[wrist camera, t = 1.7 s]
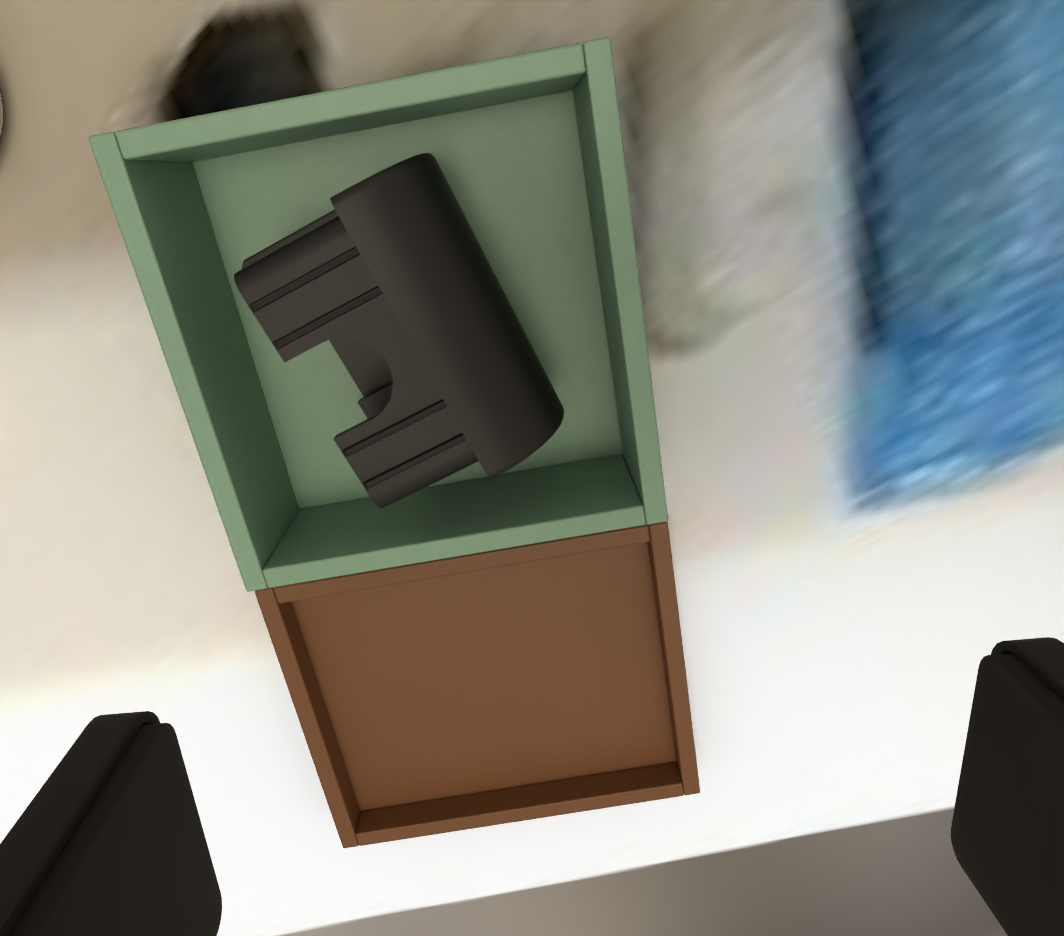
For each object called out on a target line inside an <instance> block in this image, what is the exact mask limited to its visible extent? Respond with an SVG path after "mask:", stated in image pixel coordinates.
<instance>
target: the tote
mask: <svg viewBox="0 0 1064 936" xmlns="http://www.w3.org/2000/svg"><path fill="white" fill-rule="evenodd" d="M89 142H90V144H91V147H92V150H93V153H94V156H95V159H96V162H97V164H98V167H99V170H100V173H101V176H102V179H103V182H104V184H105V187H106V190H107V193H108V196H109V199H110V202H111V204H112V207H113V210H114V213H115V216H116V219H117V222H118V224H119V227H120V230H121V233H122V236H123V239H124V242H125V244H126V247H127V250H128V253H129V256H130V259H131V262H132V265H133V267H134V270H135V273H136V276H137V279H138V282H139V285H140V287H141V290H142V293H143V296H144V299H145V302H146V305H147V307H148V310H149V313H150V316H151V319H152V322H153V325H154V327H155V330H156V333H157V336H158V339H159V342H160V345H161V347H162V350H163V353H164V356H165V359H166V362H167V365H168V367H169V370H170V373H171V376H172V379H173V382H174V385H175V387H176V390H177V393H178V396H179V399H180V402H181V405H182V407H183V410H184V413H185V416H186V419H187V422H188V425H189V428H190V430H191V433H192V436H193V439H194V442H195V445H196V448H197V450H198V453H199V456H200V459H201V462H202V465H203V468H204V470H205V473H206V476H207V479H208V482H209V485H210V488H211V490H212V493H213V496H214V499H215V502H216V505H217V508H218V510H219V513H220V516H221V519H222V522H223V525H224V528H225V530H226V533H227V536H228V539H229V542H230V545H231V548H232V550H233V553H234V556H235V559H236V562H237V565H238V568H239V570H240V573H241V576H242V579H243V582H244V585H245V588H246V591H248V592H249V591H255V590H261V589H266V588H268V587H269V588H272V587H278V586H284V585H290V584H296V583H301V582H307V581H313V580H319V579H325V578H331V577H337V576H343V575H349V574H355V573H361V572H367V571H373V570H379V569H385V568H391V567H397V566H403V565H409V564H415V563H421V562H427V561H433V560H438V559H444V558H450V557H456V556H462V555H468V554H474V553H480V552H486V551H492V550H498V549H504V548H510V547H516V546H522V545H528V544H534V543H540V542H546V541H552V540H558V539H564V538H570V537H576V536H581V535H587V534H593V533H599V532H605V531H611V530H617V529H623V528H629V527H635V526H641V525H645V523H646V524H648V525H649V524H654V523H660V522H666V521H668V515H667V506H666V498H665V490H664V481H663V473H662V465H661V456H660V448H659V440H658V432H657V423H656V415H655V407H654V398H653V390H652V382H651V373H650V365H649V357H648V348H647V340H646V332H645V323H644V315H643V307H642V299H641V290H640V282H639V274H638V265H637V257H636V249H635V240H634V232H633V224H632V215H631V207H630V199H629V190H628V182H627V174H626V166H625V157H624V149H623V141H622V132H621V124H620V116H619V107H618V99H617V91H616V82H615V74H614V66H613V58H612V49H611V41H610V38H608V37H607V38H602V39H597V40H592V41H586V42H584V43H583V44H581V43H577V44H571V45H566V46H561V47H556V48H550V49H545V50H540V51H535V52H529V53H524V54H519V55H514V56H508V57H503V58H498V59H493V60H488V61H482V62H477V63H472V64H467V65H461V66H456V67H451V68H446V69H440V70H435V71H430V72H425V73H419V74H414V75H409V76H404V77H398V78H393V79H388V80H383V81H377V82H372V83H367V84H362V85H356V86H351V87H346V88H341V89H335V90H330V91H325V92H320V93H314V94H309V95H304V96H299V97H293V98H288V99H283V100H278V101H272V102H267V103H262V104H257V105H252V106H246V107H241V108H236V109H231V110H225V111H220V112H215V113H210V114H204V115H199V116H194V117H189V118H183V119H178V120H173V121H168V122H162V123H157V124H152V125H147V126H141V127H136V128H131V129H126V130H120V131H117V132H109V133H104V134H99V135H94V136H90V137H89ZM421 153H430V154H432V155H433V156H434V157H435V158H436V160H437V162H438V164H439V166H440V168H441V170H442V172H443V174H444V176H445V178H446V180H447V182H448V184H449V186H450V188H451V190H452V191H453V193H454V195H455V197H456V199H457V201H458V203H459V205H460V207H461V209H462V211H463V213H464V215H465V217H466V219H467V221H468V223H469V225H470V227H471V228H472V230H473V232H474V234H475V236H476V238H477V240H478V242H479V244H480V246H481V248H482V250H483V252H484V254H485V256H486V258H487V260H488V262H489V264H490V265H491V267H492V269H493V271H494V273H495V275H496V277H497V279H498V281H499V283H500V285H501V287H502V289H503V291H504V293H505V295H506V297H507V299H508V300H509V302H510V304H511V306H512V308H513V310H514V312H515V314H516V316H517V318H518V320H519V322H520V324H521V326H522V328H523V330H524V332H525V334H526V336H527V337H528V339H529V341H530V343H531V345H532V347H533V349H534V351H535V353H536V355H537V357H538V359H539V361H540V363H541V365H542V367H543V369H544V371H545V372H546V374H547V376H548V378H549V380H550V382H551V384H552V386H553V388H554V390H555V392H556V394H557V396H558V398H559V400H560V402H561V404H562V406H563V408H564V418H563V421H562V423H561V425H560V427H559V428H558V430H557V431H556V432H555V433H554V435H553V436H552V437H551V438H550V439H549V440H548V441H547V442H546V443H545V444H544V445H543V446H542V447H540V448H539V449H538V450H537V451H535V452H534V453H533V454H532V455H530V456H529V457H527V458H526V459H525V460H523V461H522V462H520V463H519V464H517V465H516V466H514V467H512V468H511V469H509V470H507V471H506V472H504V473H502V474H500V475H498V476H496V477H494V478H492V479H489V478H488V476H487V475H486V473H485V471H484V470H483V468H482V466H481V464H480V463H479V461H478V462H476V463H474V464H472V465H470V466H468V467H466V468H464V469H462V470H460V471H458V472H456V473H454V474H452V475H450V476H448V477H446V478H444V479H442V480H440V481H438V482H436V483H433V484H431V485H429V486H427V487H425V488H423V489H421V490H419V491H417V492H415V493H413V494H411V495H409V496H407V497H405V498H403V499H401V500H399V501H397V502H394V503H392V504H390V505H388V506H386V507H384V508H380V507H378V506H377V505H376V504H375V503H374V502H373V500H372V499H371V497H370V496H369V494H368V493H367V491H366V490H365V488H364V486H363V485H362V483H361V482H360V480H359V479H358V477H357V476H356V474H355V472H354V471H353V469H352V468H351V466H350V465H349V463H348V461H347V460H346V458H345V457H344V455H343V454H342V452H341V450H340V449H339V447H338V446H337V444H336V443H335V441H334V440H333V439H334V437H335V436H336V435H337V434H339V433H341V432H343V431H345V430H347V429H349V428H351V427H353V426H355V425H357V424H359V423H361V422H363V421H364V420H366V419H367V417H366V416H365V414H364V412H363V411H362V409H361V407H360V406H359V404H358V403H357V402H358V401H359V399H361V398H363V395H362V393H361V392H360V390H359V389H358V387H357V385H356V384H355V382H354V380H353V379H352V377H351V375H350V374H349V372H348V370H347V369H346V367H345V366H344V364H343V362H342V361H341V359H340V357H339V356H338V354H337V352H336V351H335V349H334V348H333V346H332V344H331V343H330V341H329V340H327V341H325V342H323V343H321V344H319V345H317V346H315V347H313V348H311V349H309V350H308V351H306V352H304V353H302V354H300V355H298V356H296V357H294V358H293V359H291V360H289V361H287V362H285V363H284V361H283V360H282V358H281V357H280V355H279V353H278V352H277V350H276V349H275V347H274V346H273V344H272V342H271V341H270V339H269V338H268V336H267V335H266V333H265V332H264V330H263V328H262V327H261V325H260V324H259V322H258V321H257V319H256V317H255V316H254V314H253V313H252V311H251V310H250V308H249V306H248V305H247V303H246V302H245V300H244V299H243V297H242V295H241V294H240V292H239V290H238V289H237V286H236V284H235V281H234V274H235V273H236V272H238V271H240V270H241V268H242V264H243V261H244V260H245V259H247V258H249V257H250V256H252V255H254V254H256V253H257V252H259V251H261V250H263V249H265V248H266V247H268V246H270V245H272V244H274V243H275V242H277V241H279V240H281V239H283V238H284V237H286V236H288V235H290V234H292V233H293V232H295V231H297V230H299V229H300V228H302V227H304V226H306V225H308V224H309V223H311V222H313V221H315V220H317V219H318V218H320V217H322V216H324V215H326V214H327V213H329V212H331V211H333V210H335V209H334V207H333V205H332V203H331V200H330V198H331V197H333V196H334V195H336V194H338V193H340V192H342V191H343V190H345V189H347V188H349V187H351V186H353V185H355V184H356V183H358V182H360V181H362V180H364V179H366V178H368V177H370V176H372V175H374V174H376V173H378V172H380V171H382V170H384V169H386V168H388V167H390V166H392V165H394V164H396V163H399V162H401V161H403V160H405V159H408V158H410V157H412V156H415V155H418V154H421Z"/></svg>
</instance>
